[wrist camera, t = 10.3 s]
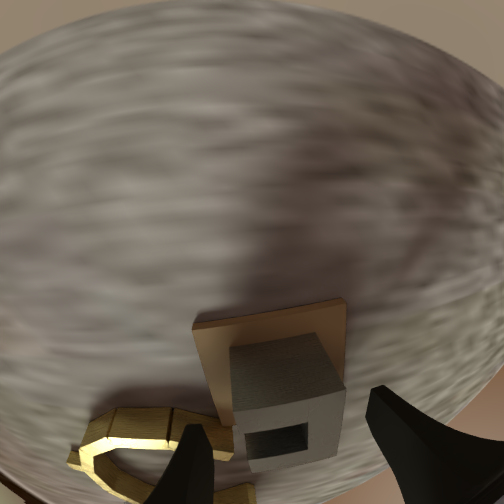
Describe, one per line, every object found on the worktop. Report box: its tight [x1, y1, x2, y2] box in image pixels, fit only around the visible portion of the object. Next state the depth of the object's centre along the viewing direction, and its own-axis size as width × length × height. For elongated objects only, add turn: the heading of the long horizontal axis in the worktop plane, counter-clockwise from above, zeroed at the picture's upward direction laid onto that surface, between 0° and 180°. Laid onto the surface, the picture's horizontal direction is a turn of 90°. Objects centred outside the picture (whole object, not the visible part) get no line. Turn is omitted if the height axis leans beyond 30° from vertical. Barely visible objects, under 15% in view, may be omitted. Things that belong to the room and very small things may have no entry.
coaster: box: [192, 298, 347, 427], centre depth 13 cm, size 7×7×1 cm
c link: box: [229, 332, 346, 473], centre depth 11 cm, size 5×4×4 cm
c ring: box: [66, 407, 257, 504], centre depth 14 cm, size 14×15×2 cm
